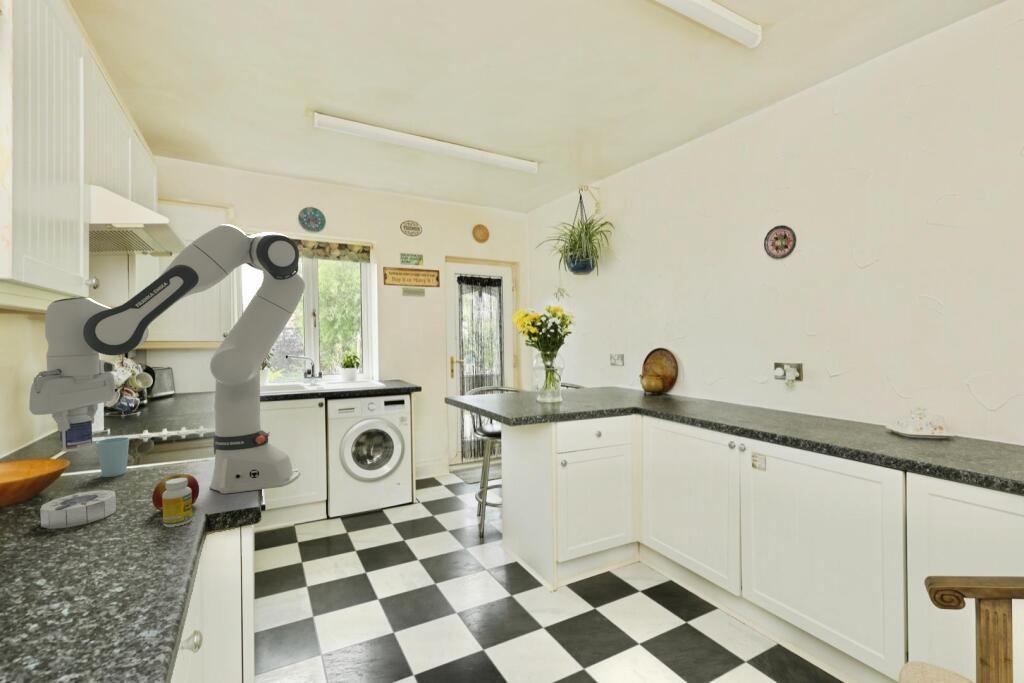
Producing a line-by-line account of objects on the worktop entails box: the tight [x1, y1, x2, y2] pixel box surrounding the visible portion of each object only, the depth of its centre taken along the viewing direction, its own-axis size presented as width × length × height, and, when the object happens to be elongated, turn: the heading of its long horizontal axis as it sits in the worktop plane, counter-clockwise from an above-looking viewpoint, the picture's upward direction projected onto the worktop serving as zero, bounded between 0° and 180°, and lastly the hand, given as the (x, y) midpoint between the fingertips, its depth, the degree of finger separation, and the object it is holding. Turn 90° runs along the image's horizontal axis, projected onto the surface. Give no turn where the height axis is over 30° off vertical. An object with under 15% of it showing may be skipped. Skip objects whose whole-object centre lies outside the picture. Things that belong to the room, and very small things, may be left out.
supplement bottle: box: [162, 478, 194, 528], centre depth 103 cm, size 5×5×10 cm
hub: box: [39, 489, 117, 530], centre depth 107 cm, size 12×12×4 cm
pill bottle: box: [59, 406, 93, 453], centre depth 107 cm, size 5×5×10 cm
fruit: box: [151, 473, 200, 512], centre depth 111 cm, size 10×9×8 cm
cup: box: [95, 436, 130, 478], centre depth 140 cm, size 8×8×10 cm
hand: (76, 427), depth 107 cm, fingers closed on pill bottle, 5 cm apart
